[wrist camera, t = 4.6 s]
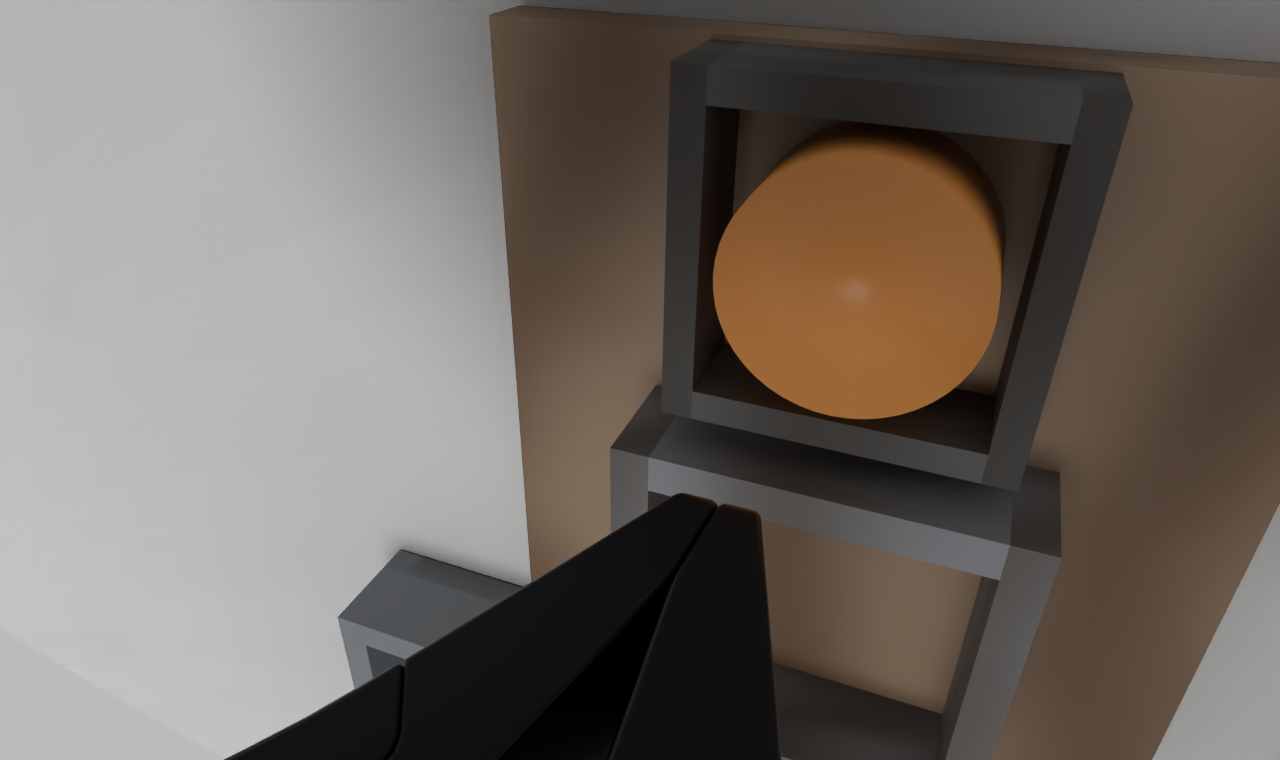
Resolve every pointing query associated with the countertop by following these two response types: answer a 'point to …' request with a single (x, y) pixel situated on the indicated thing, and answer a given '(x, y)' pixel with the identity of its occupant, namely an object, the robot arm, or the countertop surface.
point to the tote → (411, 611)
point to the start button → (864, 271)
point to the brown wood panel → (947, 428)
